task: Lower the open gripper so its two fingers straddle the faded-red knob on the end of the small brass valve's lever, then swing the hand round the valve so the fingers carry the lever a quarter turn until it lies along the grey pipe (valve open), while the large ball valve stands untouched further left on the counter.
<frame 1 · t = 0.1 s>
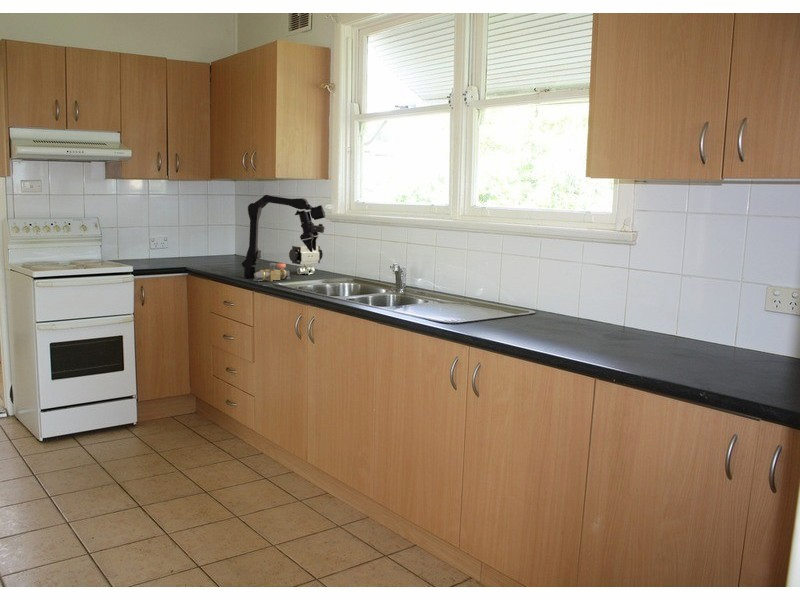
hand: (313, 251, 380), 15 cm above the worktop, tool pointing down, fingers open, 9 cm apart
ball valve: (306, 275, 404), on the worktop
valve body: (272, 280, 378), on the worktop
lever: (277, 266, 373), point 8 cm above the worktop, hinge at 0.0°
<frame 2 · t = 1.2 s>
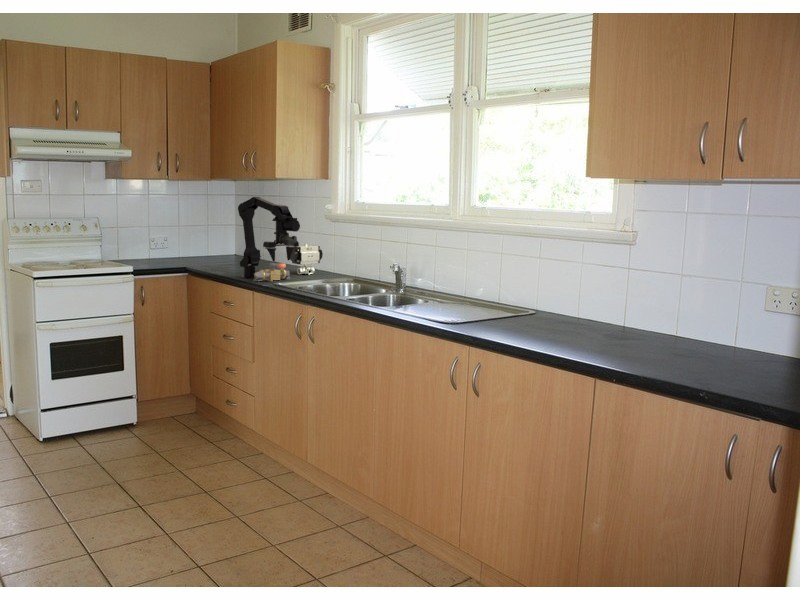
hand: (281, 260, 371), 11 cm above the worktop, tool pointing down, fingers open, 9 cm apart
nothing on the worktop moved.
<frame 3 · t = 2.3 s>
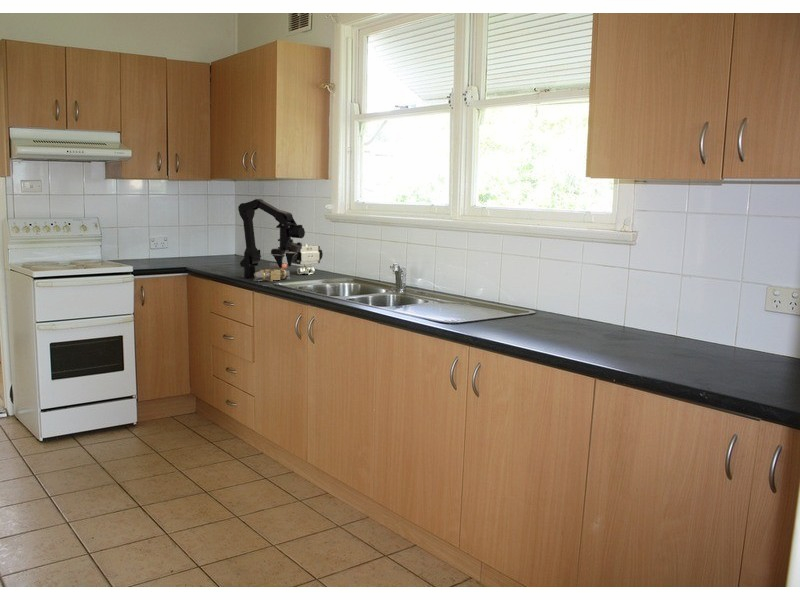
hand: (285, 267, 374), 7 cm above the worktop, tool pointing down, fingers open, 9 cm apart
lever: (277, 266, 374), point 8 cm above the worktop, hinge at 5.7°, touching gripper
everything else where it was.
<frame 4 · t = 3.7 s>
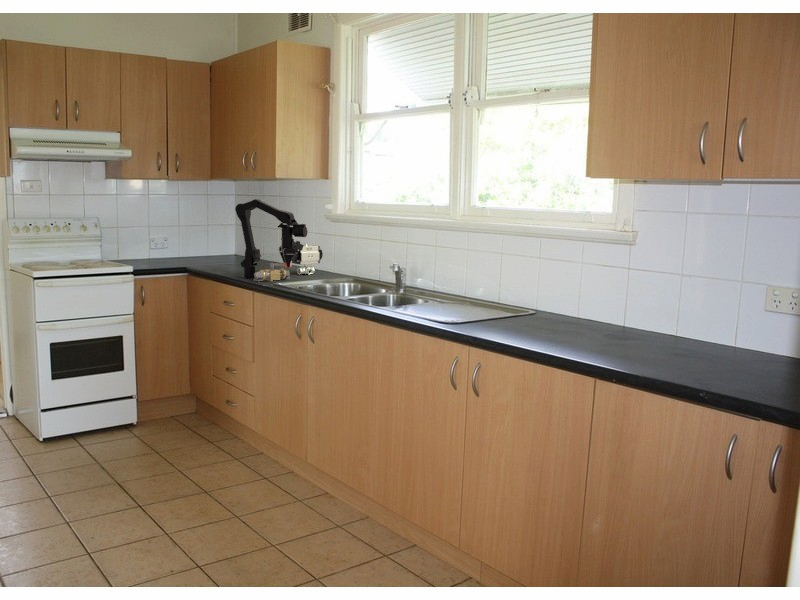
hand: (287, 266, 379), 7 cm above the worktop, tool pointing down, fingers open, 9 cm apart
lever: (280, 266, 376), point 8 cm above the worktop, hinge at 43.5°, touching gripper
everything else where it was.
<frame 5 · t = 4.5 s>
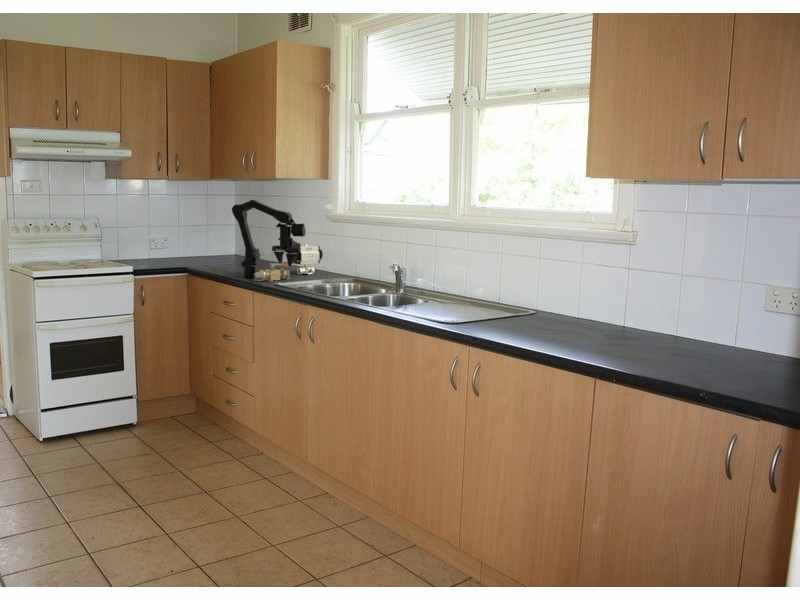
hand: (285, 265, 381), 7 cm above the worktop, tool pointing down, fingers open, 9 cm apart
lever: (280, 265, 378), point 8 cm above the worktop, hinge at 65.4°, touching gripper
everything else where it was.
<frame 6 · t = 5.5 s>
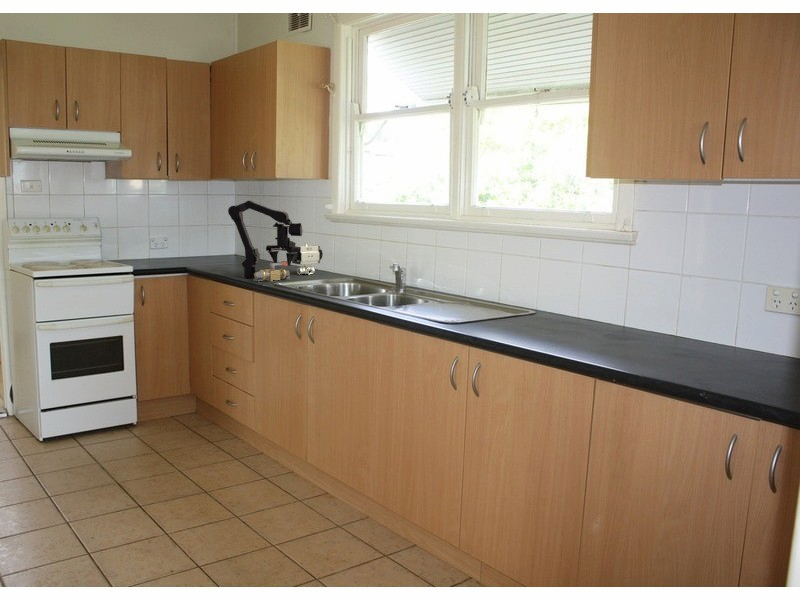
hand: (282, 265, 383), 7 cm above the worktop, tool pointing down, fingers open, 9 cm apart
lever: (279, 265, 379), point 8 cm above the worktop, hinge at 85.8°, touching gripper
everything else where it was.
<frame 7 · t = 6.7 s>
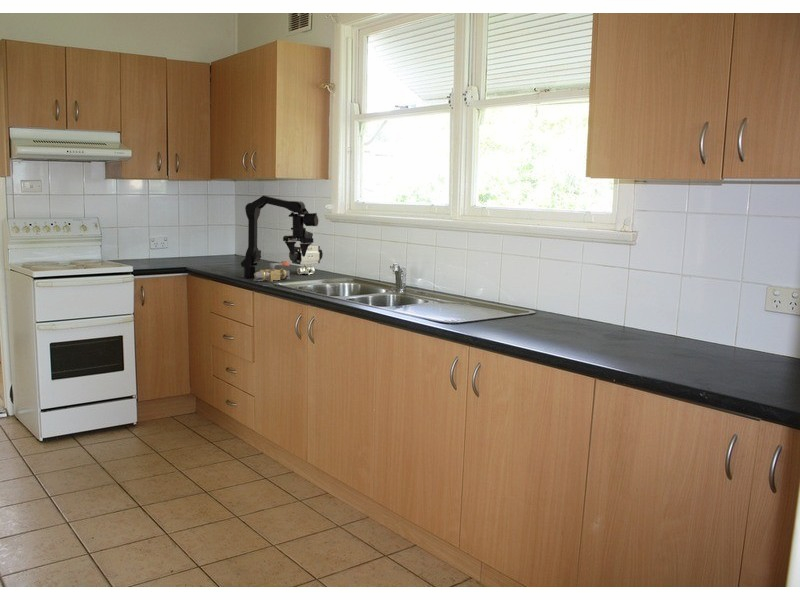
hand: (298, 255, 377), 13 cm above the worktop, tool pointing down, fingers open, 9 cm apart
lever: (279, 265, 379), point 8 cm above the worktop, hinge at 85.9°
everything else where it was.
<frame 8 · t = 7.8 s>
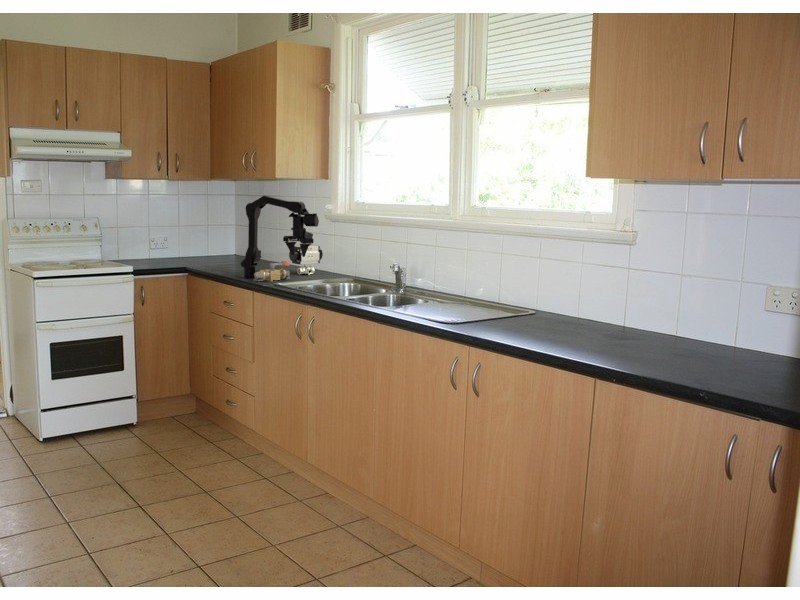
hand: (298, 256, 377), 13 cm above the worktop, tool pointing down, fingers open, 9 cm apart
nothing on the worktop moved.
at the end: lever at +86° (first picture: +0°) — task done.
